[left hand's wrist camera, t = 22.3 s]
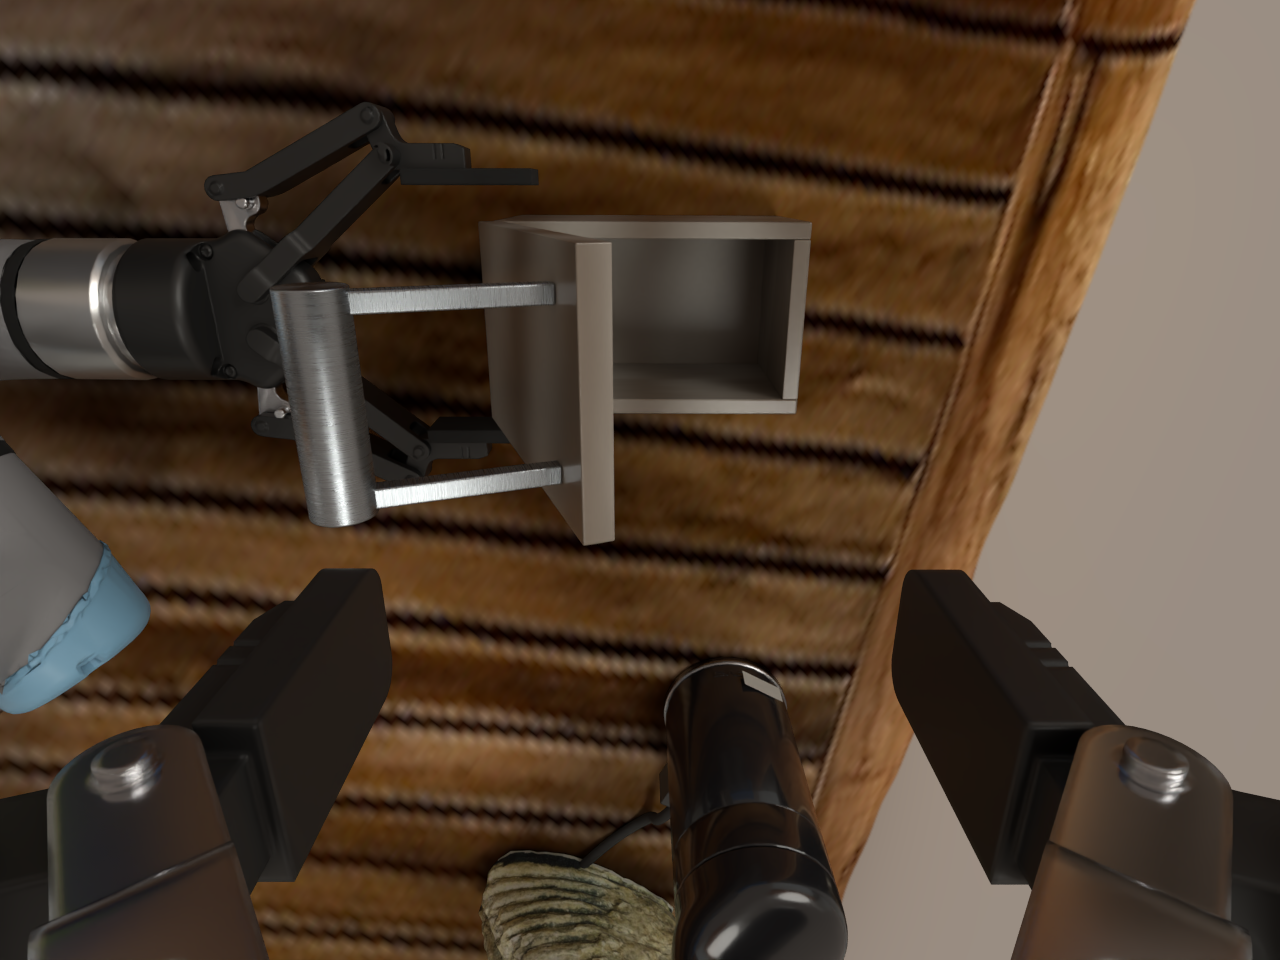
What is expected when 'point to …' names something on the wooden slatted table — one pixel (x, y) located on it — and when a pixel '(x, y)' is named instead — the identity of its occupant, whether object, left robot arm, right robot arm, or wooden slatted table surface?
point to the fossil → (570, 912)
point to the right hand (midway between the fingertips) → (542, 311)
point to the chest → (701, 309)
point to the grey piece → (518, 371)
